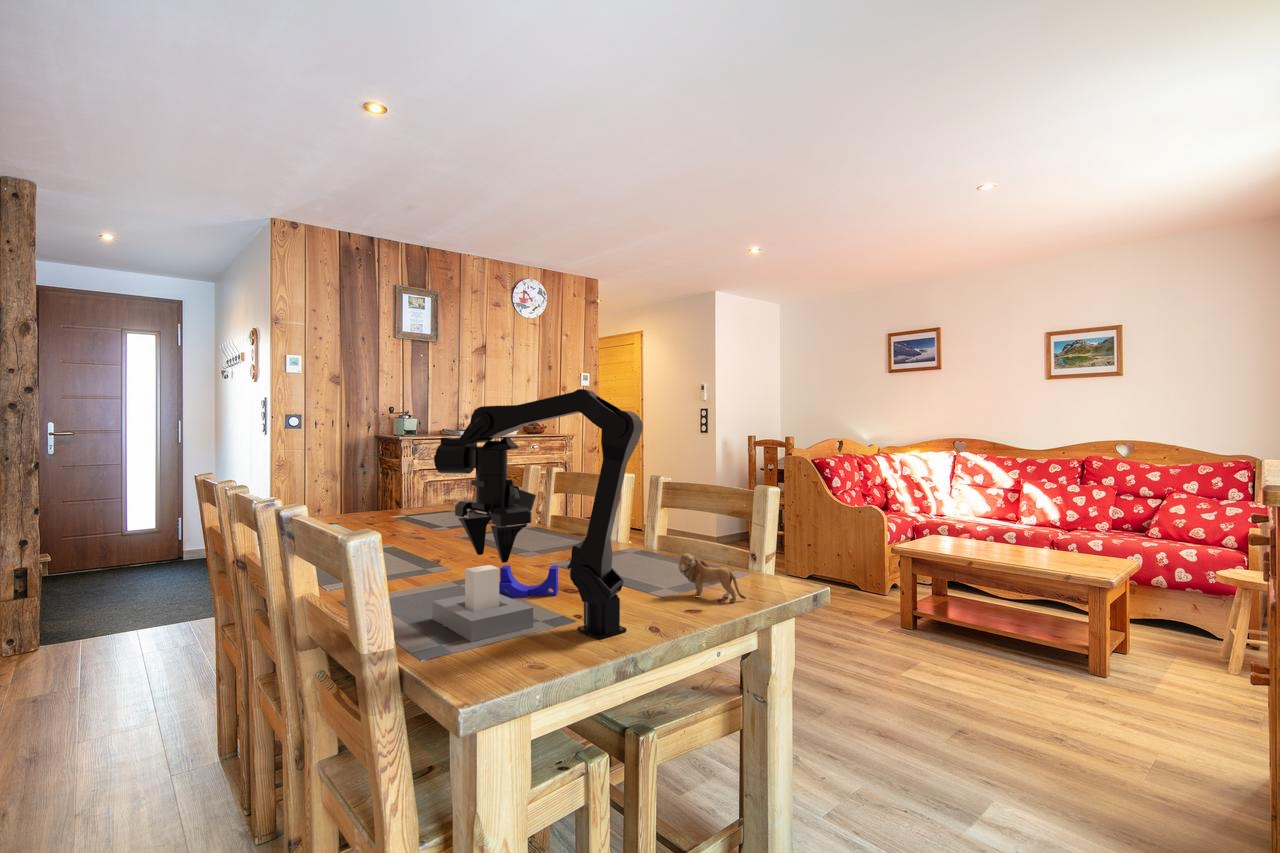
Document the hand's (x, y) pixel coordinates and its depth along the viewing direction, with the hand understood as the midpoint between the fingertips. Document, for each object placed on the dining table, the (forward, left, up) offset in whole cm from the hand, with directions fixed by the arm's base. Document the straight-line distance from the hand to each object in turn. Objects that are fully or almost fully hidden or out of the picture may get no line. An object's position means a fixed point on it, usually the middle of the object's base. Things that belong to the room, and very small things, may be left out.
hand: (492, 558), depth 117 cm
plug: (+1, +2, -11) cm, 11 cm away
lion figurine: (-15, -43, -12) cm, 47 cm away
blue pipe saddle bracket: (+12, -15, -12) cm, 23 cm away
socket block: (+1, +2, -12) cm, 12 cm away
